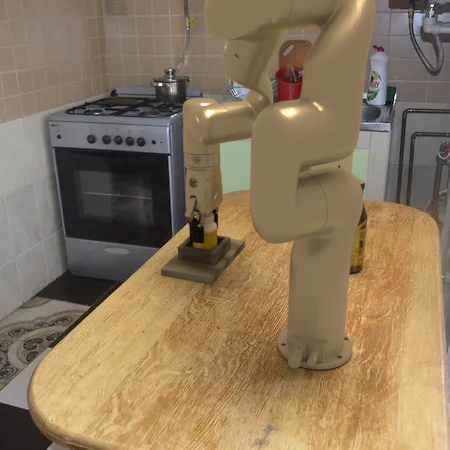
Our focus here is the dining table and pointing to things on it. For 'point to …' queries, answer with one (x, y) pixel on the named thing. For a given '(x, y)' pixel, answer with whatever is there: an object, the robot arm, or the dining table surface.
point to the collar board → (202, 260)
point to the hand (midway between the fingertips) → (204, 234)
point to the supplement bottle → (208, 233)
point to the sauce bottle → (359, 239)
